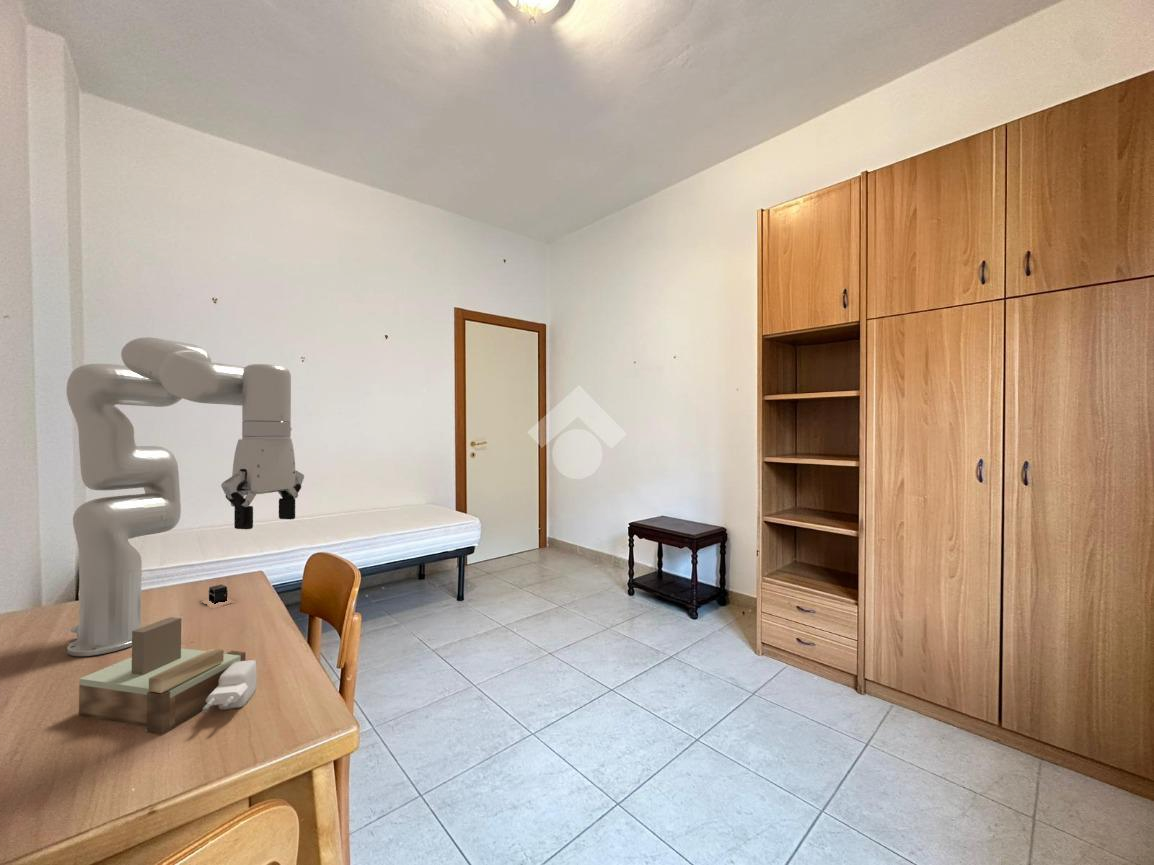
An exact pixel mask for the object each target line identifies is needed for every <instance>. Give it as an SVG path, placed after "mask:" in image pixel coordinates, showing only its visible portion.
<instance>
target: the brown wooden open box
mask: <svg viewBox="0 0 1154 865" xmlns="http://www.w3.org/2000/svg"><path fill="white" fill-rule="evenodd" d="M226 654H233V655H241V661H246V657H247V656H246V651H237V650H230V651H227V652H226ZM226 669H227V668H226ZM226 669H224V670H222V671H221V672H219V673H217V674H215V675H213V676H211V677H209V678H207V679H205V680H204V681H202V682H200V683H198V684H196V685H194V686H192V687H190V688H188V689H186V690H185V691H183V692H181V693H179V694H177V695H175V696H173V697H171V698H170V691H165V692H163V693H157V692H150V691H149V692H147V695H144V694H138V693H131V692H124V691H117V690H111V689H104V688H97V687H90V686H83V685H79V684H78V687H79V688H78V716H79V717H83V718H90V719H94V720H101V721H102V720H103V721H107V722H114V723H119V724H127V725H132V726H138V727H142V728H143V727H144V728H146V733H148V734H154V735H160V736H163V735H165V734H166V733H168V732H170V731H172V730H174V729H176V728H177V727H178V726H180V725H182V724H183V723H185V722H187V721H188V720H190V719H192V718H194V717H195V716H197V715H199V714H200V713H202V712H203V711H202V708H203V707H204V706H205V705H206V704H207V702H206V701H205V700H206V699H207V697H208V696H209V695H210V694H211V693H212V692H213V691H214V690H215V688H216V687H217V686H218V684H219V678H220V676H221V675H222V673H223V672H224V671H225V670H226ZM212 706H213V705H211V706H210V707H209V708H211V707H212Z"/></svg>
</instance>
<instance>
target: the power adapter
mask: <svg viewBox="0 0 1154 865" xmlns="http://www.w3.org/2000/svg"><path fill="white" fill-rule="evenodd" d="M257 673H258V665H257V661H256V660H255V659H251V660H249V659H248V660H245V661H239V662H234V663H233V664H231V665H230V666H229V667H228V668H227V669H226V670H225V671H224V672H223V673H222V675H221V676H220V678H219V684H218V686H217V687H216V688H215V690H214V691H213V692H212V693H211V694H210V695H209V696H208V697H207V699H206V700H205V701H206V702H207V704H206V705H205V706H204V707H203V708H202V712H203V713H205V712H207V711H208V710H209V708H211V707H212V706H217V705H218V708H219V710H230V709H238V708H242V707H244V706H245V705H246V704H247V702H248V701H249V700H250V699H251V698H252V696H254V694H255V692H256V690H257V680H258V678H257V677H258V674H257ZM211 705H212V706H211ZM210 706H211V707H210Z"/></svg>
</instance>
